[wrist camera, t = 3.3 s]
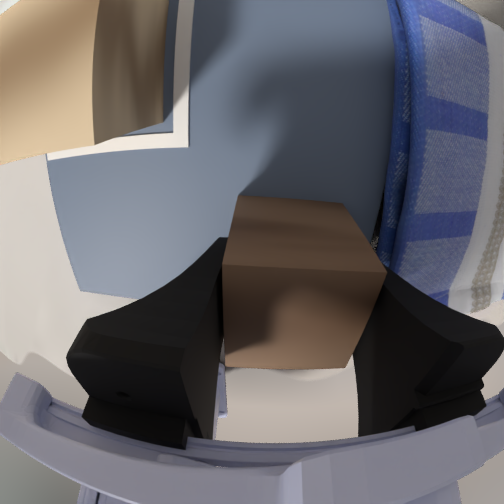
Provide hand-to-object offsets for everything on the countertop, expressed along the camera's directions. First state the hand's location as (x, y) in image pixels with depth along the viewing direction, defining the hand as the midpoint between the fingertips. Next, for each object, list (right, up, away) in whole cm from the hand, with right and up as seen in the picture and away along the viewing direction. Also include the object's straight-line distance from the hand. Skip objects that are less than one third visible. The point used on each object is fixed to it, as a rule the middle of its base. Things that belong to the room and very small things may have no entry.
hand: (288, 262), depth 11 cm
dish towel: (+16, +5, -1) cm, 16 cm away
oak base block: (-8, +8, -3) cm, 11 cm away
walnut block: (0, +1, +1) cm, 1 cm away
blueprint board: (-4, +5, 0) cm, 6 cm away
